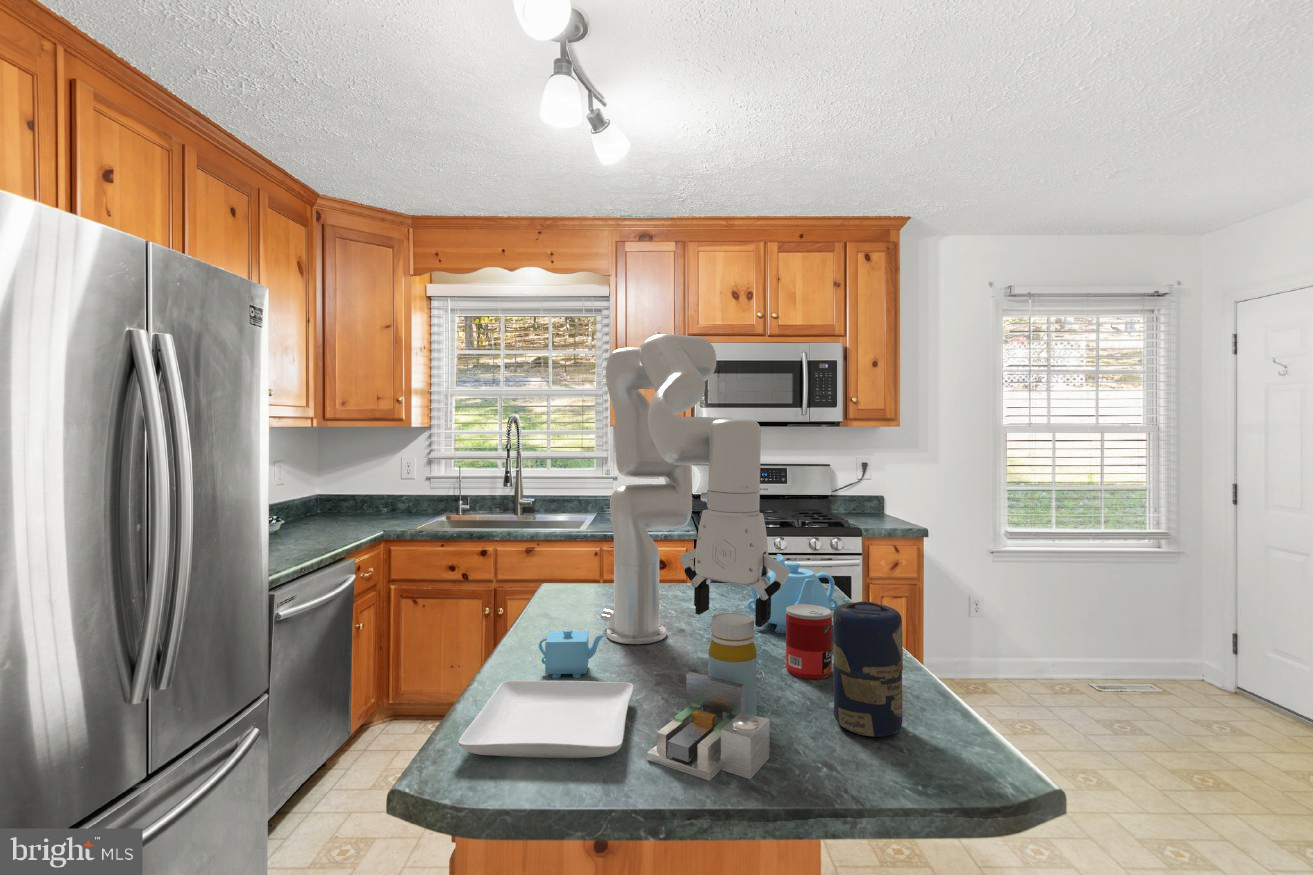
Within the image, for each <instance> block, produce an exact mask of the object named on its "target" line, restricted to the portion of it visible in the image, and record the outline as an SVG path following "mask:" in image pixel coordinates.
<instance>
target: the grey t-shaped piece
mask: <svg viewBox="0 0 1313 875" xmlns="http://www.w3.org/2000/svg"><path fill="white" fill-rule="evenodd" d="M685 676H686V677H685V678H686V679H685V682H686V683H685V684H686V686H685V690H686V691H685V692H686V693H685V694H686V695H685V698H686V699H685V702H686V703H687V704H688V703H689V704H690V705H691V704H695V705H699V706H702V710H700V709H699V710H695V711H694V712H693V713H692V722H691V723H690V724H689V725H687V726H686V727H685V728H684V729H682V730H681V731H680V732H679V733H677V734H676V735H675V736H674V737H672V738H671V739H670V740H668V756H671V757H674V758H677V759H680V760H683V761H686V762H689V761H690V760H691V759H692V758H694V757H695V756H696V755H697V754H698V744H699V743H700V742H701V741H702V740H704V739H705V738H706V737H707V736H708V735H709V734H710V733H712V732H713V728H715V727H716V726H717V725H718V724H719V723H720V722H721V721H723V720H724V719H725V718H726V713H729V714H733V715H738V714H739V713H740V712H743V713H744V709H745V684H740V683H736V682H732V681H728V680H723V679H719V678H715V677H710V676H708V675H706V674H703V673H702V674H701V673H697V672H692V671H690V672H688V673H686V675H685Z"/></svg>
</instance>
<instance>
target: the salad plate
mask: <svg viewBox="0 0 1313 875" xmlns="http://www.w3.org/2000/svg"><path fill="white" fill-rule="evenodd" d="M634 688H635V686H634V684H633V683H631V682H618V681H617V682H616V681H614V682H613V681H592V680H591V681H590V680H589V681H588V680H505V681H502V682H501V683H500V684H499V685H497V688H496V689H495V690H494V691H493V693H492V694H491V696H490V697H489V699H488V700H487V702H486V703H485V704H484V705H483V707H481V708H482V709H481V710H480V711H479V713H477V715H476V716H475V718H474V719H473V720H472V722H470V724H469V726H467V727H466V729H465V730H464V731H463V733H462V734H461V735H460V737H459V739H458V742H457V743H458V746H459V747H460V748H461V749H462V750H464V751H466V752H468V753H471V754H476V755H479V756H480V755H481V756H496V757H505V758H506V757H507V758H508V757H510V758H513V757H514V758H545V759H547V758H548V759H551V758H552V759H553V758H554V759H559V758H560V759H588V758H600V757H607V756H610V755H612V754H615V753H616V752H618V751H619V750H620V749H621V748H622V746H623V742H624V737H625V728H626V721H627V720H626V719H627V714H628V709H629V704H630V702H631V699H632V696H633V693H634Z"/></svg>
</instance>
